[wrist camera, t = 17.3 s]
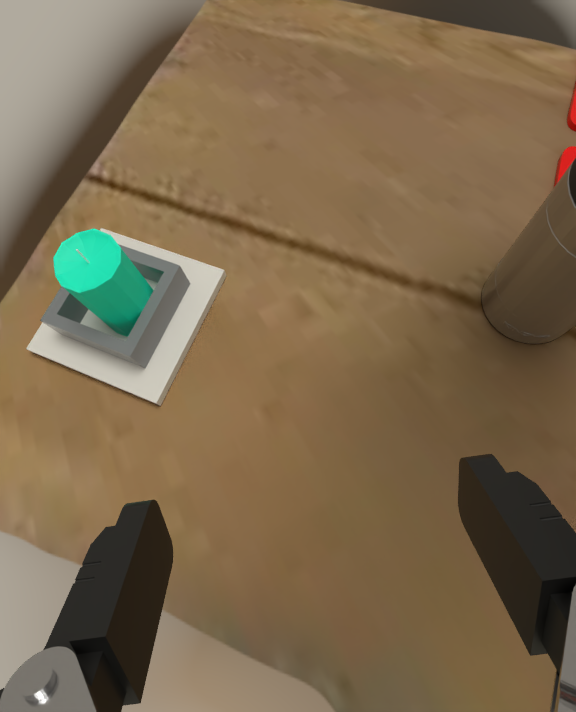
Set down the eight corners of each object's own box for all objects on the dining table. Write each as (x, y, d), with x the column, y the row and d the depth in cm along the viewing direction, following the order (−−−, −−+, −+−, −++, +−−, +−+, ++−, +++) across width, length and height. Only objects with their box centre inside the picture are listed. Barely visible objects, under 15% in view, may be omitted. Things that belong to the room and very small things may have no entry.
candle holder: (106, 234, 52) (84, 207, 47) (226, 275, 49) (216, 250, 44) (33, 352, 48) (1, 335, 43) (160, 406, 45) (141, 394, 40)
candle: (115, 284, 48) (52, 217, 37) (167, 288, 48) (120, 220, 36) (102, 335, 47) (31, 280, 35) (156, 339, 46) (102, 284, 35)
